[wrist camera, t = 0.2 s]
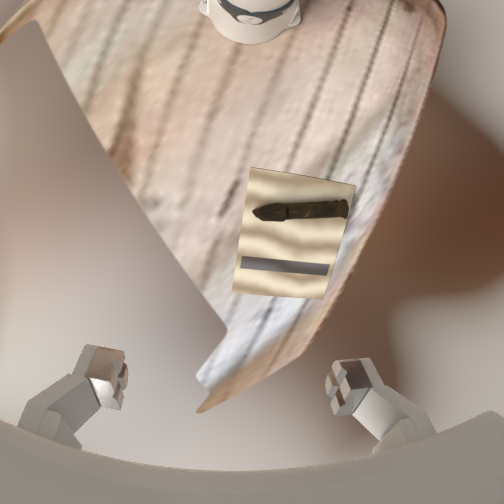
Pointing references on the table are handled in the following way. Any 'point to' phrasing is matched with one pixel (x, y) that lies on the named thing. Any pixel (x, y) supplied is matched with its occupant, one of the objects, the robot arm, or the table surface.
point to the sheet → (288, 237)
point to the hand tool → (302, 210)
